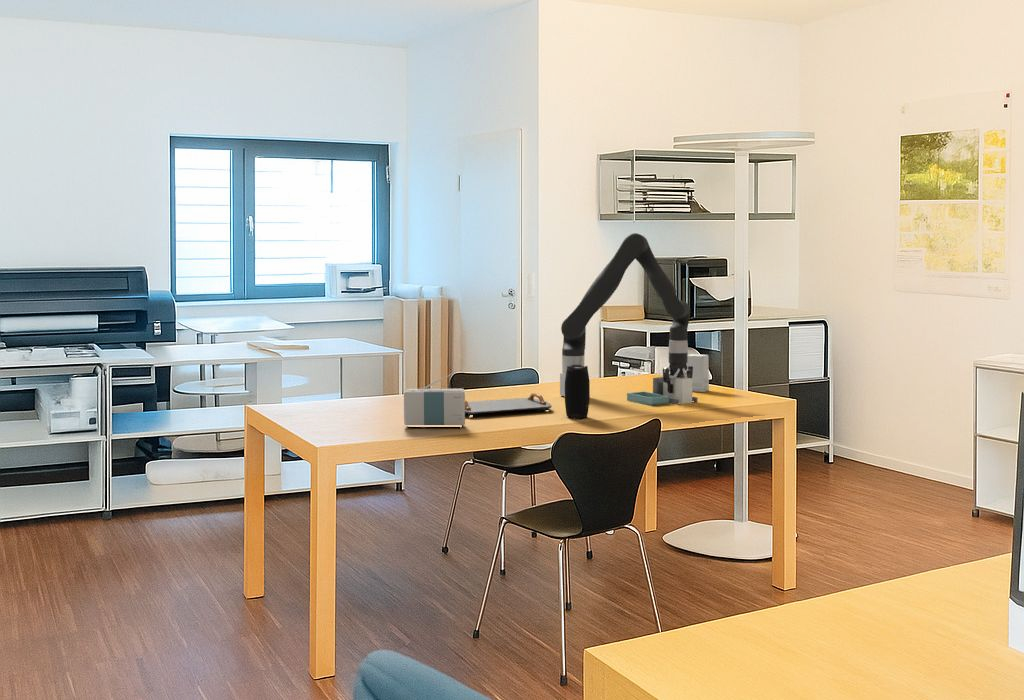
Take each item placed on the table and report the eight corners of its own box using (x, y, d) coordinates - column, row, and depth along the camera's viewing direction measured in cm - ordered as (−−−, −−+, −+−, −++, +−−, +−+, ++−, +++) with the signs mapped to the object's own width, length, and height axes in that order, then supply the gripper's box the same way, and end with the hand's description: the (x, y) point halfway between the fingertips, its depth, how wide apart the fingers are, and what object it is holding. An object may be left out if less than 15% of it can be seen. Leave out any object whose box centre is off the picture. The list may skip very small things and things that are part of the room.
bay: (676, 404, 406) (677, 382, 405) (652, 399, 419) (653, 377, 418) (697, 402, 411) (697, 380, 411) (673, 397, 424) (673, 375, 423)
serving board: (463, 420, 374) (463, 403, 374) (441, 411, 395) (441, 395, 395) (559, 413, 390) (559, 397, 389) (533, 404, 411) (533, 388, 410)
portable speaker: (593, 418, 377) (594, 366, 375) (573, 420, 372) (573, 367, 370) (580, 414, 384) (580, 363, 382) (560, 416, 379) (560, 365, 377)
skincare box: (709, 390, 443) (709, 354, 441) (703, 392, 438) (704, 356, 436) (690, 389, 448) (691, 353, 446) (684, 391, 442) (685, 355, 440)
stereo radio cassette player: (403, 429, 355) (403, 372, 353) (406, 425, 364) (405, 368, 361) (464, 429, 355) (464, 371, 353) (465, 425, 364) (465, 368, 361)
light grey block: (682, 404, 408) (682, 376, 406) (662, 400, 418) (663, 372, 417) (692, 403, 410) (692, 375, 409) (672, 399, 420) (672, 372, 419)
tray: (651, 405, 404) (651, 398, 403) (627, 400, 417) (627, 393, 417) (669, 403, 408) (669, 396, 408) (644, 398, 422) (644, 391, 421)
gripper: (685, 349, 419) (685, 390, 420) (658, 351, 411) (657, 392, 413) (698, 351, 412) (697, 392, 414) (670, 353, 405) (669, 395, 407)
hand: (677, 392), depth 413 cm, fingers open, 6 cm apart
